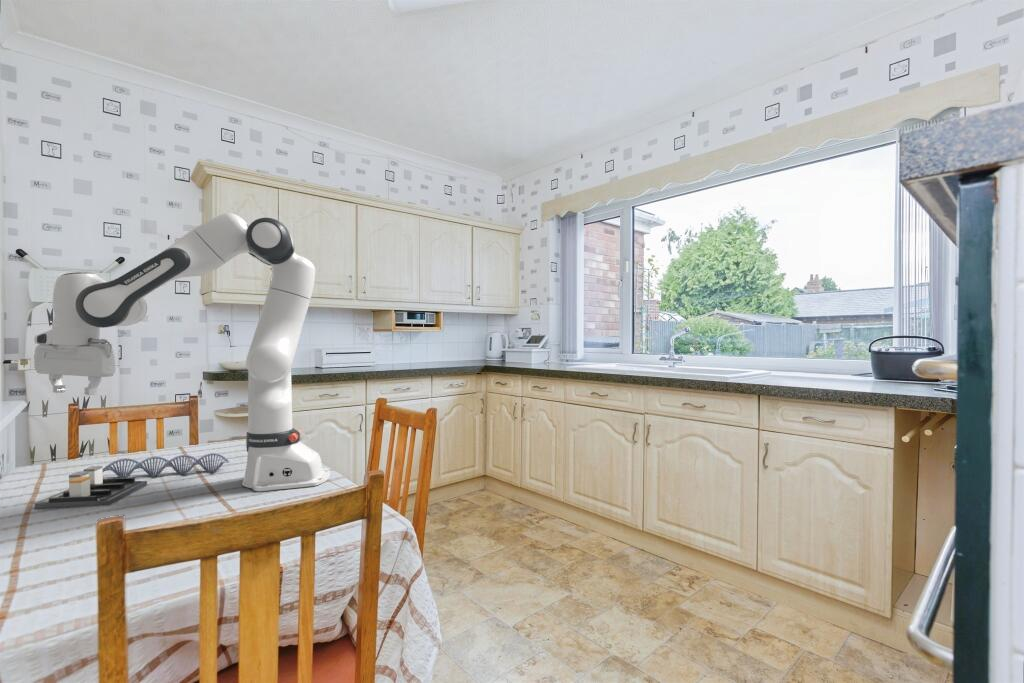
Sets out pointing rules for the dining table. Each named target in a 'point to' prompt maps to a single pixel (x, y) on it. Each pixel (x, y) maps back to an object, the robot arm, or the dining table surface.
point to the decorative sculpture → (166, 465)
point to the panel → (95, 494)
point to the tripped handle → (79, 487)
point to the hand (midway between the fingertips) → (74, 393)
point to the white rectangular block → (79, 475)
